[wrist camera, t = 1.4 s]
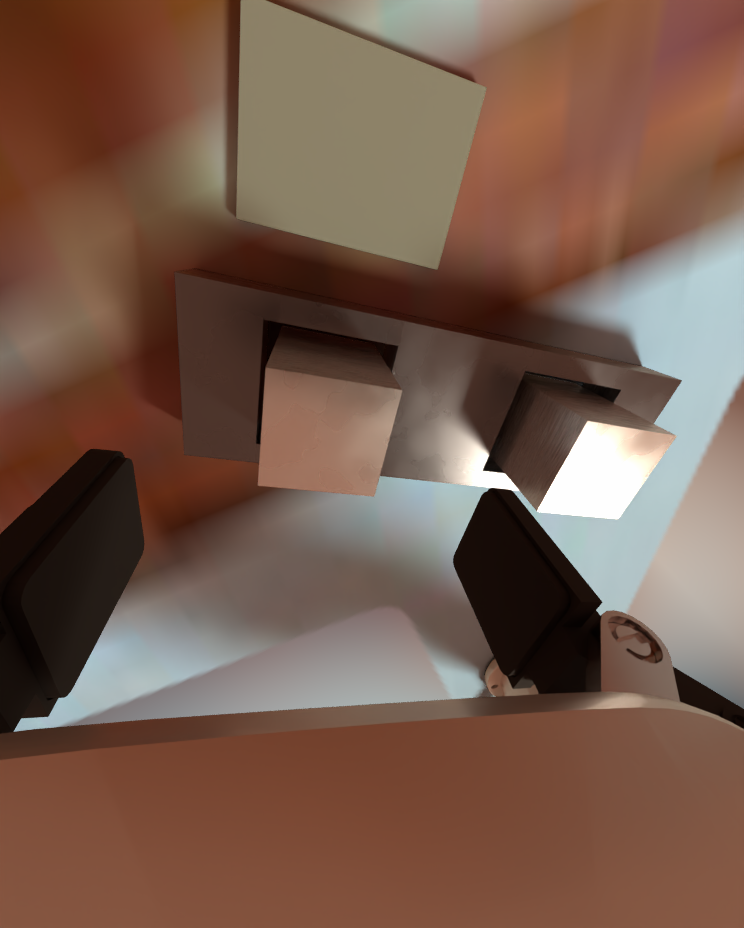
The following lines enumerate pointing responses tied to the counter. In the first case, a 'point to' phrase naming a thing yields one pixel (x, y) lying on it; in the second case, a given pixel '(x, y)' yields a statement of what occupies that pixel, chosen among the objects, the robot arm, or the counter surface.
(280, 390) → the pale pink rectangular block
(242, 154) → the mat
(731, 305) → the counter surface
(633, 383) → the board with square holes
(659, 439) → the brown wooden block
